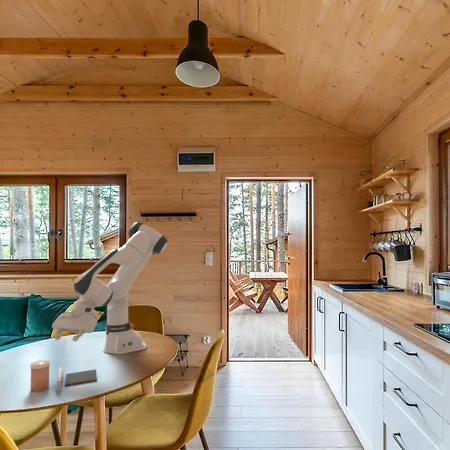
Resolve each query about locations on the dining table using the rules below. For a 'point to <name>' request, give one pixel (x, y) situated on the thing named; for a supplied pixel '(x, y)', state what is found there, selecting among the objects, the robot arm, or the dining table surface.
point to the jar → (40, 375)
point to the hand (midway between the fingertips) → (65, 339)
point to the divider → (59, 379)
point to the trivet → (80, 377)
